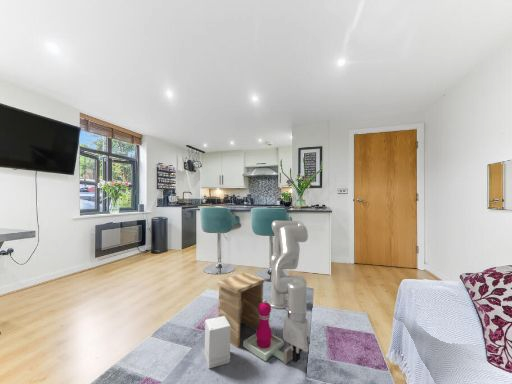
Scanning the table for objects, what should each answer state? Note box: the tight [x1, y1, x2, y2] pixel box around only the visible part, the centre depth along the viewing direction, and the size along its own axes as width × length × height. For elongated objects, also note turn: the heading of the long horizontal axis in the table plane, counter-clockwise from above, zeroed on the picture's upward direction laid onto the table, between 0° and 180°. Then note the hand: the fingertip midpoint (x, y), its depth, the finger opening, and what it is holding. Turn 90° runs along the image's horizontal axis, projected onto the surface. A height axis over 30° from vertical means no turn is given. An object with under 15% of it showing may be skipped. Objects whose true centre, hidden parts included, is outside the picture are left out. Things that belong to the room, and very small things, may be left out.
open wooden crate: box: [217, 272, 265, 349], centre depth 112 cm, size 19×14×26 cm
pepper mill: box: [255, 298, 273, 348], centre depth 102 cm, size 7×7×20 cm
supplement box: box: [204, 316, 231, 369], centre depth 94 cm, size 9×9×15 cm
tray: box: [242, 332, 292, 365], centre depth 99 cm, size 13×20×5 cm, turn 48°
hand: (296, 360), depth 91 cm, fingers closed
